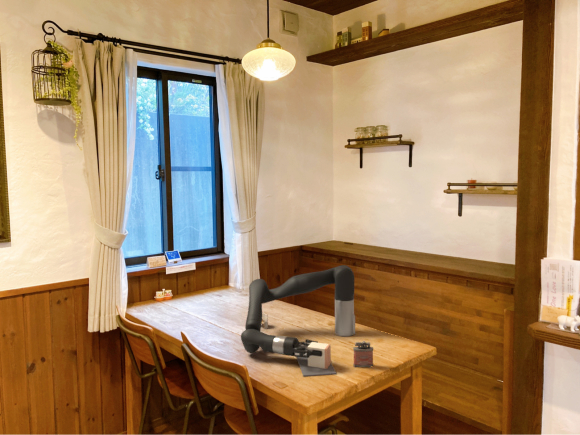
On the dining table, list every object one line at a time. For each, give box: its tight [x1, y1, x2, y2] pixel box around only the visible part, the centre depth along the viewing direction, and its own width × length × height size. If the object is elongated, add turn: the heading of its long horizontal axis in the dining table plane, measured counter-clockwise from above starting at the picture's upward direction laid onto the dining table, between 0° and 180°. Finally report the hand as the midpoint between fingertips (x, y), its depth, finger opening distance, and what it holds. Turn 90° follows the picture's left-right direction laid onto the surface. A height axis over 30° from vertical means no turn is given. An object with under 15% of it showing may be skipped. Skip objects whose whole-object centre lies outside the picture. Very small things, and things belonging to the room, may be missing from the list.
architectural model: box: [261, 311, 269, 330], centre depth 228 cm, size 3×7×7 cm, turn 32°
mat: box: [295, 357, 337, 377], centre depth 181 cm, size 13×19×1 cm
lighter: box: [352, 340, 374, 368], centre depth 179 cm, size 8×3×10 cm, turn 92°
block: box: [307, 341, 332, 369], centre depth 180 cm, size 8×6×8 cm
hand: (324, 350), depth 178 cm, fingers closed on block, 5 cm apart
